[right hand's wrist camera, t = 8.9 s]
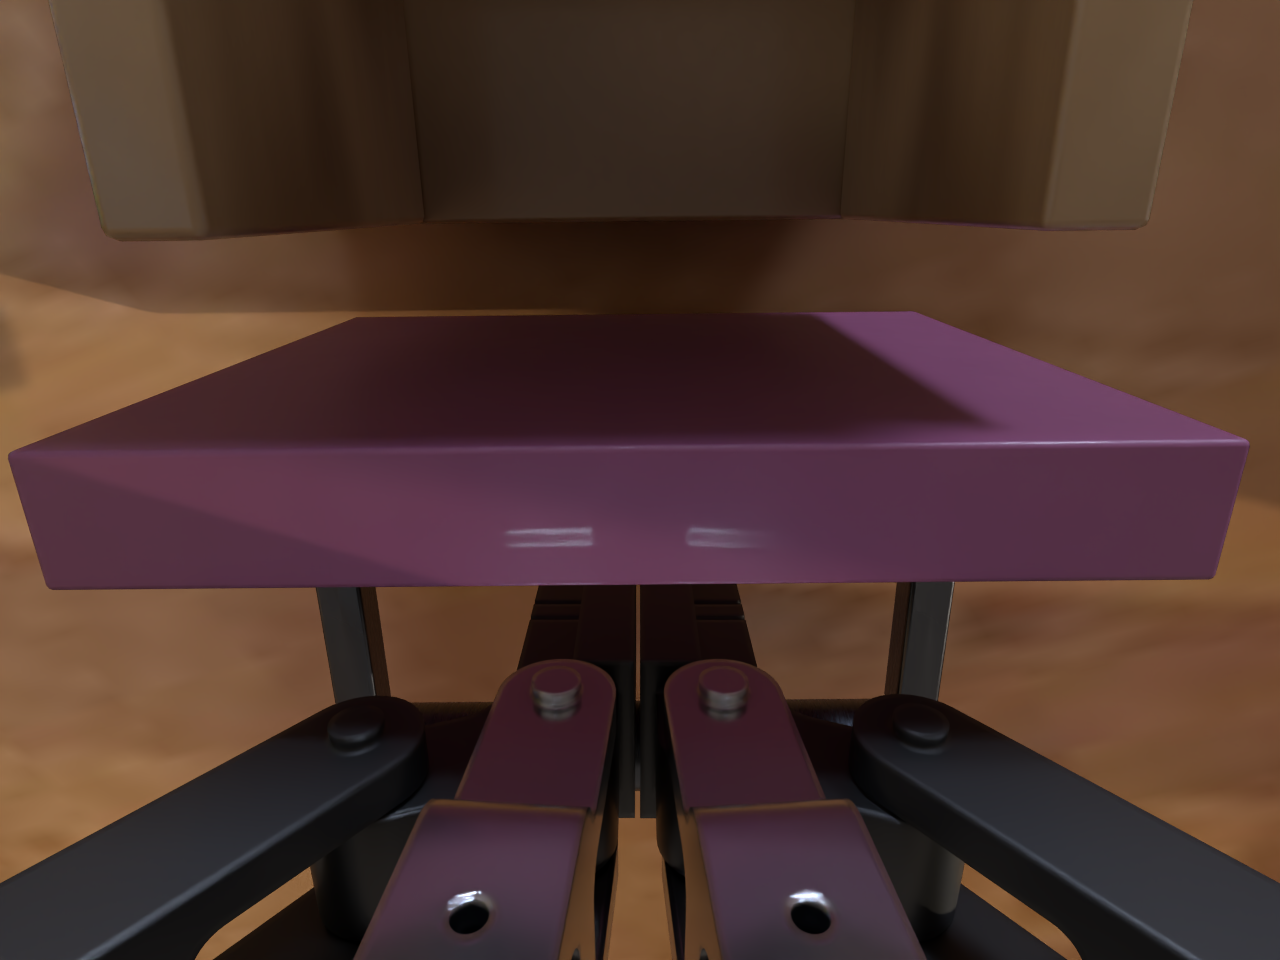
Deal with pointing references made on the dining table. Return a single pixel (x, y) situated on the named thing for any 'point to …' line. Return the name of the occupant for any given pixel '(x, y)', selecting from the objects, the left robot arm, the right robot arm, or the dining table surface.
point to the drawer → (628, 343)
